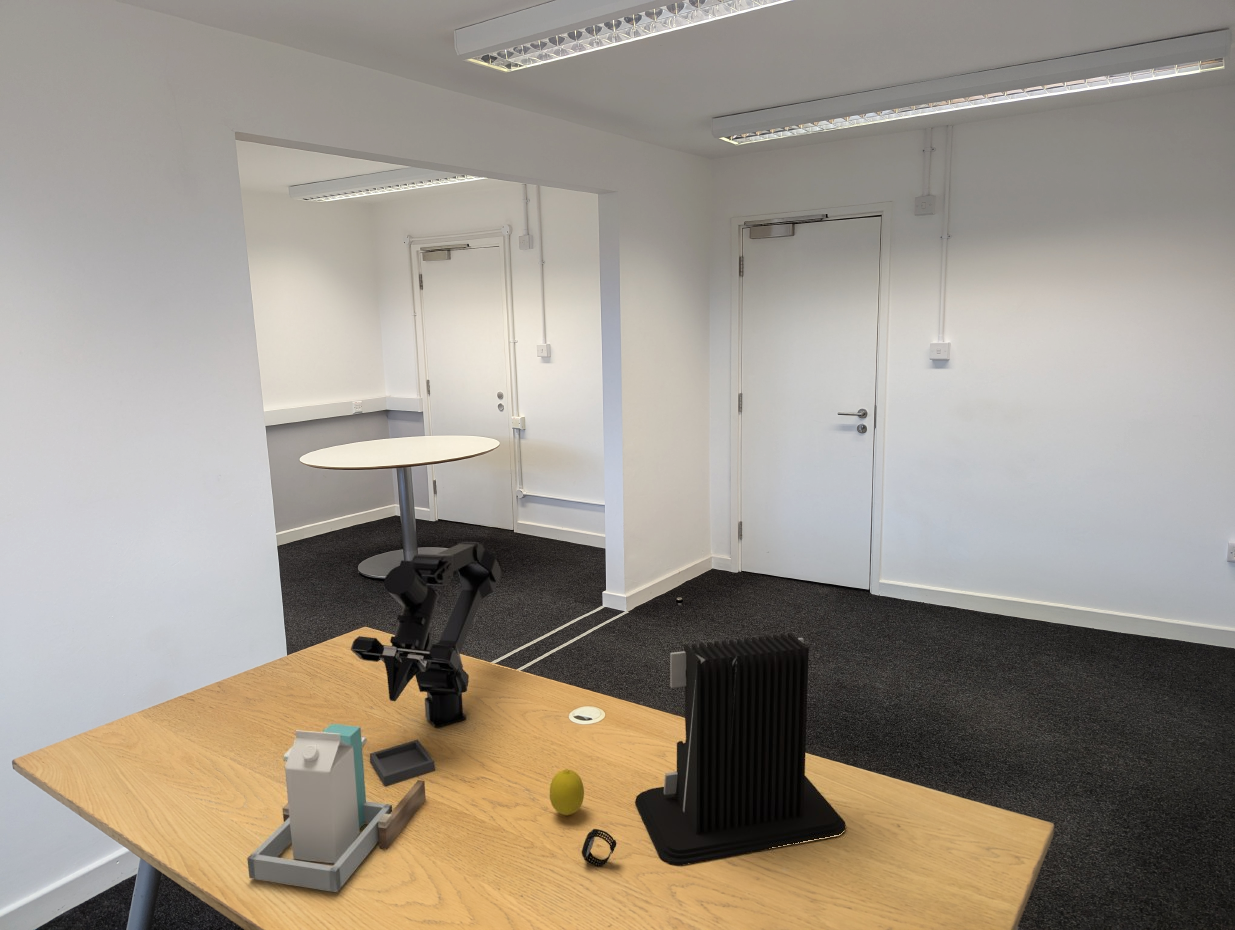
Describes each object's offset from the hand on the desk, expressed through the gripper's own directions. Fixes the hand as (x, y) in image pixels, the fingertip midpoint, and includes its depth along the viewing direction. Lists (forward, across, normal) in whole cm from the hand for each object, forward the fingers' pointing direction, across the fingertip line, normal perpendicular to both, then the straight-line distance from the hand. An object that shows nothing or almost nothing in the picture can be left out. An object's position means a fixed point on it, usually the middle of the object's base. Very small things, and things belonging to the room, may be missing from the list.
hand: (392, 700), depth 141 cm
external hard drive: (+8, +16, -14) cm, 22 cm away
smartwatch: (+21, -41, +6) cm, 46 cm away
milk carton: (+25, +1, +6) cm, 25 cm away
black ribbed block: (+10, -61, -4) cm, 62 cm away
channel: (+19, 0, 0) cm, 19 cm away
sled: (+26, +1, +7) cm, 27 cm away
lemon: (+14, -34, -2) cm, 37 cm away
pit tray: (+9, -1, -11) cm, 14 cm away
